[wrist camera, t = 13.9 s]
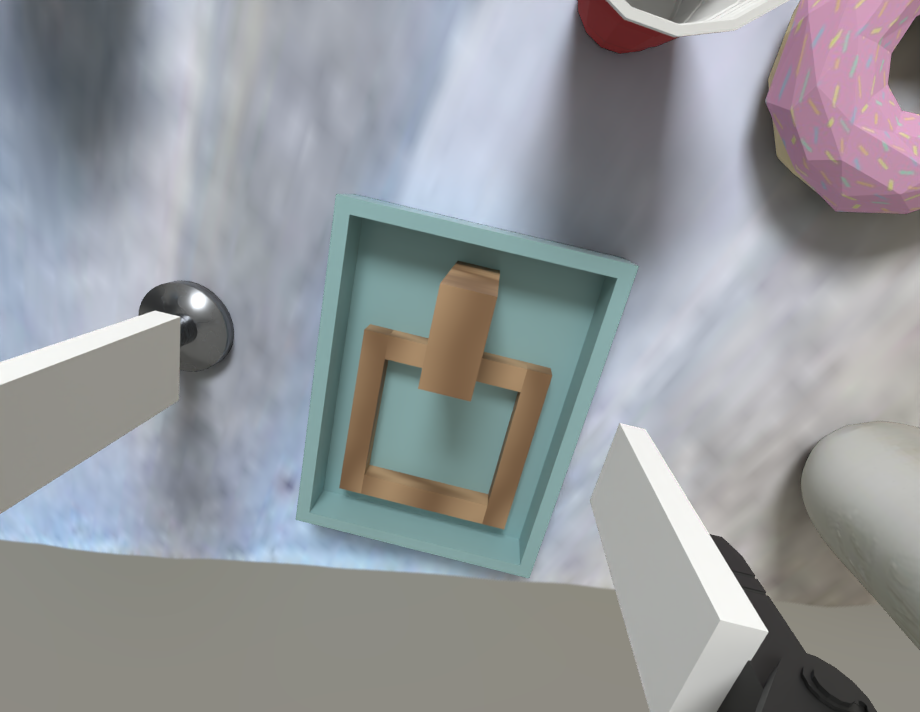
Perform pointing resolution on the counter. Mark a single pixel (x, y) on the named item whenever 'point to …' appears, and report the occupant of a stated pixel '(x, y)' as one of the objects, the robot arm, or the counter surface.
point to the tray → (443, 417)
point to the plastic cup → (664, 20)
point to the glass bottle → (871, 511)
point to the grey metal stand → (194, 322)
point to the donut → (846, 105)
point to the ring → (452, 374)
